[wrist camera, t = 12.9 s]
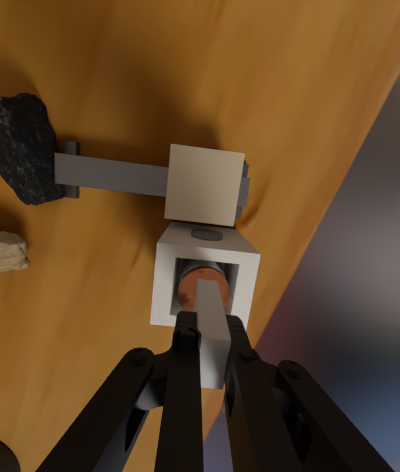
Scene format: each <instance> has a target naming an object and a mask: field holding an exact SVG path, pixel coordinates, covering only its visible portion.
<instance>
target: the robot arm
mask: <svg viewBox="0 0 400 472" xmlns="http://www.w3.org/2000/svg"><path fill="white" fill-rule="evenodd" d="M224 382H225V395H224V400H223V406H222V413H224V411H226V418H227V426H228V433H229V441H230V448H231V456H232V463H233V471H234V472H394V470H393V469H392V468H391V467H390V466H389V465H388V464H387V462H386V461H385V460H384V459H383V458H382V457H381V455H380V454H379V453H378V452H377V451H376V450H375V448H374V447H373V446H372V445H371V444H370V443H369V442H368V440H367V439H366V438H365V437H364V436H363V435H362V434H361V433H360V431H359V430H358V429H357V428H356V427H355V426H354V424H353V423H352V422H351V421H350V420H349V419H348V417H346V415H345V414H344V413H343V412H342V411H341V409H340V408H339V407H338V406H337V405H336V404H335V402H334V401H333V400H332V399H331V398H330V397H329V396H328V394H327V393H326V392H325V391H324V390H323V389H322V388H321V386H320V385H319V384H318V383H317V382H316V381H315V379H314V378H313V377H312V376H311V375H310V374H309V373H308V371H307V370H306V369H305V368H304V367H302V366H301V365H300V364H298V363H296V362H293V361H291V360H283V361H280V363H279V364H278V366H275V365H272V364H269V363H266V362H264V361H262V360H261V358H260V356H259V354H258V353H257V352H256V351H255V350H254V349H252V348H251V345H250V342H249V339H248V336H247V334H246V331H245V328H244V325H243V322H242V320H241V319H240V318H239V317H238V316H236V315H226V314H225V311H224V307H223V303H222V299H221V294H220V290H219V286H218V282H217V281H215V280H206V279H197V286H196V294H195V302H194V309H193V312H190V311H180V312H179V313H178V314H177V316H176V323H175V330H174V333H173V340H172V346H171V348H170V349H169V350H168V351H166V352H164V353H161V354H157V355H154V353H153V352H152V351H151V350H149V349H147V348H141V347H140V348H134V349H132V350H130V351H128V352H127V353H126V354H125V355H124V357H123V358H122V359H121V361H120V362H119V363H118V364H117V366H116V367H115V368H114V370H113V371H112V372H111V374H110V375H109V376H108V377H107V379H106V380H105V381H104V383H103V384H102V385H101V387H100V388H99V389H98V391H97V392H96V393H95V394H94V396H93V397H92V398H91V400H90V401H89V402H88V404H87V405H86V406H85V408H84V409H83V410H82V411H81V413H80V414H79V415H78V417H77V418H76V419H75V421H74V422H73V423H72V424H71V426H70V427H69V428H68V430H67V431H66V432H65V434H64V435H63V436H62V438H61V439H60V440H59V441H58V443H57V444H56V445H55V447H54V448H53V449H52V451H51V452H50V453H49V455H48V456H47V457H46V458H45V460H44V461H43V462H42V464H41V465H40V466H39V468H38V469H37V470H36V471H35V472H122V470H123V468H124V466H125V464H126V462H127V459H128V457H129V455H130V453H131V451H132V448H133V446H134V444H135V442H136V440H137V437H138V435H139V433H140V431H141V429H142V427H143V424H144V422H145V420H146V418H147V416H148V413H149V410H150V409H152V408H156V407H160V406H163V412H162V419H161V426H160V433H159V440H158V448H157V455H156V462H155V469H154V472H204V471H203V469H204V467H203V436H202V404H201V387H202V388H214V389H223V385H224ZM0 472H20V467H19V464H18V462H17V460H16V458H15V457H14V455H13V454H12V453H11V452H10V451H9V450H8V449H7V448H6V447H5V446H4V445H2V444H1V443H0Z"/></svg>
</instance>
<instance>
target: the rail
mask: <svg viewBox="0 0 400 472" xmlns="http://www.w3.org/2000/svg"><path fill="white" fill-rule="evenodd" d="M79 145H80V143H78V142H74V141H66V140H64V154H61V153H55V183H58V184H65V197H68V198H79V186H82V187H90V188H98V189H106V190H114V191H122V192H130V193H138V194H146V195H154V196H162V197H166V193H167V182H168V170H169V168H168V167H161V166H153V165H145V164H138V163H130V162H122V161H115V160H107V159H99V158H92V157H84V156H79ZM248 167H249V165H246V164H243V170H242V176H241V182H240V188H239V195H238V201H237V207H236V214H235V218H240V215H241V209H242V206H243V207H245V206H246V200H247V195H248V189H249V183H250V178H247V173H248Z"/></svg>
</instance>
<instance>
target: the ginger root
mask: <svg viewBox="0 0 400 472" xmlns="http://www.w3.org/2000/svg"><path fill="white" fill-rule="evenodd" d="M27 254H28V245H27V243H26V241H25V240H23V238H22V237H21V236H20V235H18V234H16V233H12V232H5V231H1V232H0V273H2V272H7V271H9V270H20V269H25V268H27V267H29V266H30V261H29V260H28V258H27V256H26V255H27Z"/></svg>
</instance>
